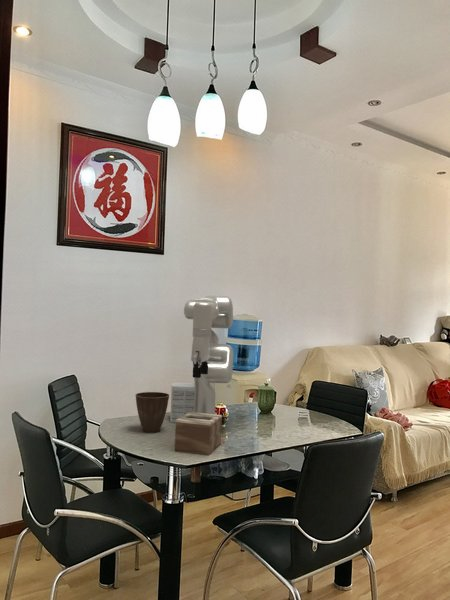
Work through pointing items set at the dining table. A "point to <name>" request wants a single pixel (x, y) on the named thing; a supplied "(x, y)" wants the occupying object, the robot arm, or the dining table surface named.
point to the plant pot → (151, 409)
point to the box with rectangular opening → (198, 433)
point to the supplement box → (181, 399)
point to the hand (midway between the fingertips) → (200, 375)
